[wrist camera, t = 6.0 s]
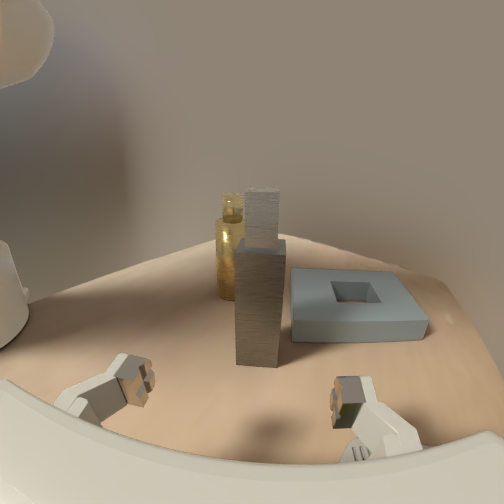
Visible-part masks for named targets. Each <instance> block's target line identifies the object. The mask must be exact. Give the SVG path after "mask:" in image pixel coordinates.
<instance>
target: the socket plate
mask: <svg viewBox="0 0 504 504" xmlns="http://www.w3.org/2000/svg"><path fill="white" fill-rule="evenodd" d="M290 298H291V326H292V342H319V343H362V342H392V341H410V340H423V337H424V334H425V332H426V329H427V326H428V323H429V321H430V319H429V318H428V316H427V315H426V314H425V312H424V311H423V310H422V308H421V307H420V306H419V304H418V303H417V302H416V301H415V299H414V298H413V297H412V295H411V294H410V293H409V292H408V290H407V289H406V288H405V287H404V285H403V284H402V283H401V282H400V280H399V279H398V278H397V277H396V275H395V274H394V273H393V272H383V271H357V270H333V269H311V268H291V278H290ZM337 300H366V302H367V303H349V302H337Z"/></svg>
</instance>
